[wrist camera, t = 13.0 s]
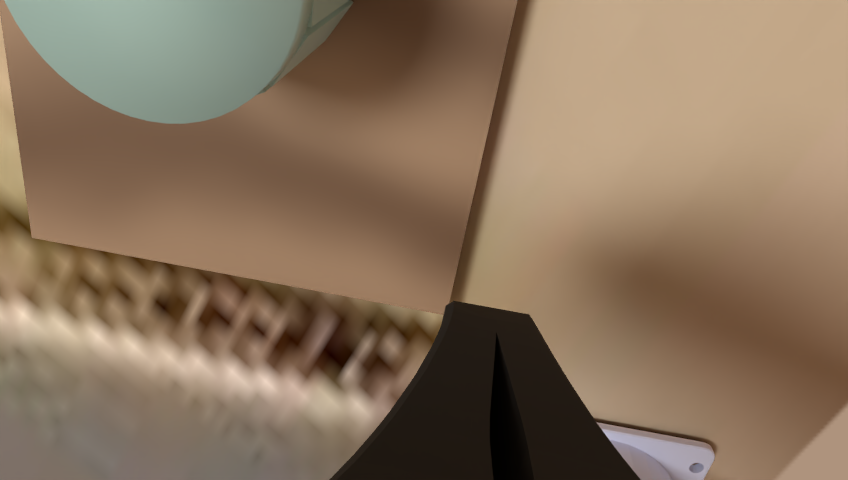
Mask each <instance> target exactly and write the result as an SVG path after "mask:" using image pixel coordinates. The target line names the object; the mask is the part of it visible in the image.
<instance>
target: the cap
mask: <svg viewBox="0 0 848 480" xmlns="http://www.w3.org/2000/svg"><path fill="white" fill-rule="evenodd" d="M4 1H5V3H6V5H7V7H8V9H9V11H10V12H11V14H12V16H13V18H14V20H15V22H16V23H17V25H18V26H19V28H20V29H21V31H22V32H23V34H24V35H25V37H26V38H27V40H28V41H29V42H30V44H31V45H32V46H33V47H34V49H35V50H36V51H37V52H38V53H39V54H40V56H41V57H42V58H43V59H44V60H45V61H46V62H47V63H48V64H49V65H50V66H51V67H52V68H53V69H54V70H55V71H56V72H57V73H58V74H59V75H60V76H61V77H62V78H64V79H65V80H66V81H67V82H69V83H70V84H71V85H72V86H74V87H75V88H76V89H77V90H79V91H80V92H82V93H84V94H85V95H87V96H88V97H90V98H91V99H93V100H94V101H96V102H98V103H100V104H102V105H104V106H106V107H108V108H110V109H112V110H114V111H117V112H120V113H122V114H125V115H128V116H130V117H134V118H138V119H142V120H146V121H151V122H159V123H166V124H186V123H193V122H201V121H205V120H209V119H212V118H216V117H219V116H222V115H224V114H226V113H228V112H231V111H233V110H235V109H237V108H238V107H240V106H241V105H243V104H244V103H246V102H248V101H249V100H251V99H252V98H253V97H254V96H256V95H258V94H261V93H264V92H266V91H267V90H268V89H269V88H270V87H272V86H273V85H275V84H276V83H277V82H278V81H279V80H280V79H282V78H283V77H284V76H285V75H286V74H287V73H289V72H290V71H291V70H292V69H293V68H294V67H296V66H297V65H298V64H299V63H300V62H301V61H303V60H304V59H305V58H306V57H307V56H308V55H309V54H311V53H312V52H313V51H314V50H315V49H316V48H318V47H319V46H320V45H321V44H322V43H323V42H325V41H326V39H327V38H328V37H329V35H330V34H331V32H332V31H333V30H334V28H335V27H336V26H337V24H338V23H339V22H340V20H341V19H342V17H343V16H344V15H345V13H346V12H347V11H348V9H349V8H350V7H351V5H352V4H353V1H351V0H4Z"/></svg>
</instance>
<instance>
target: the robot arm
mask: <svg viewBox="0 0 848 480" xmlns="http://www.w3.org/2000/svg"><path fill="white" fill-rule="evenodd" d="M714 459H715V455H714V452H713V449H712V447H711V446H710V445H709V444H707V443H705V442H700V441H695V440H689V439H684V438H679V437H673V436H668V435H663V434H657V433H652V432H646V431H641V430H636V429H630V428H625V427H620V426H614V425H609V424H604V423H598V422H596V421H595V419H594V418H593V417H592V415H591V414H590V412H589V411H588V409H587V408H586V406H585V405H584V403H583V402H582V400H581V399H580V397H579V396H578V394H577V393H576V391H575V390H574V388H573V387H572V385H571V383H570V382H569V380H568V379H567V377H566V375H565V374H564V372H563V371H562V369H561V367H560V366H559V364H558V362H557V361H556V359H555V357H554V356H553V354H552V352H551V351H550V349H549V347H548V345H547V344H546V342H545V340H544V339H543V337H542V335H541V333H540V332H539V330H538V328H537V326H536V325H535V323H534V321H533V320H532V318H531V317H530V315H529V314H523V313H518V312H512V311H507V310H501V309H496V308H490V307H485V306H479V305H474V304H468V303H463V302H457V301H453V302H451V303H449V304H448V305H446V306H445V311H444V316H443V320H442V325H441V328H440V330H439V332H438V335H437V337H436V339H435V341H434V343H433V345H432V347H431V349H430V351H429V352H428V354H427V356H426V358H425V359H424V361H423V363H422V364H421V366H420V368H419V370H418V371H417V373H416V375H415V376H414V378H413V379H412V381H411V382H410V384H409V385H408V387H407V388H406V389H405V391H404V392H403V394H402V395H401V397H400V398H399V399H398V401H397V402H396V404H395V405H394V406H393V408H392V409H391V411H390V412H389V413H388V415H387V416H386V417H385V418H384V420H383V421H382V422H381V423H380V425H379V426H378V427H377V428H376V430H375V431H374V432H373V433H372V434H371V436H370V437H369V438H368V439H367V440H366V441H365V442H364V444H363V445H362V446H361V447H360V448H359V449H358V450H357V452H356V453H355V454H354V455H353V456H352V457H351V458H350V459H349V460H348V461H347V462H346V463H345V464H344V465H343V466H342V467H341V468H340V470H339V471H338V472H337V473H336V474H335V475H334V476H333V477H332V478H331V479H330V480H704V478H705V476H706V474H707V472H708V471H709V469H710V467H711V465H712V463H713V461H714ZM694 463H698V464H696V465H692V464H694Z"/></svg>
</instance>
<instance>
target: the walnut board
mask: <svg viewBox="0 0 848 480" xmlns="http://www.w3.org/2000/svg"><path fill="white" fill-rule="evenodd" d="M351 1H353V4H352V5H351V7H350V8H349V9H348V11H347V12H346V13H345V15H344V16H343V17H342V19H341V20H340V22H339V23H338V24H337V26H336V27H335V28H334V30H333V31H332V32H331V34H330V35H329V37H328V38H327V39H326V41H325V42H323V43H322V44H321V45H320V46H319V47H318V48H316V49H315V50H314V51H313V52H312V53H311V54H309V55H308V56H307V57H306V58H305V59H304V60H303V61H301V62H300V63H299V64H298V65H297V66H296V67H294V68H293V69H292V70H291V71H290V72H289V73H287V74H286V75H285V76H284V77H283V78H282V79H280V80H279V81H278V82H277V83H276V84H275V85H273V86H272V87H270V88H269V89H268V90H267V91H266V92H264V93H261V94H258V95H256V96H254V97H253V98H252V99H251V100H249V101H248V102H246V103H244V104H243V105H241V106H240V107H238V108H237V109H235V110H233V111H231V112H228V113H226V114H224V115H222V116H219V117H216V118H212V119H209V120H205V121H201V122H193V123H186V124H166V123H159V122H151V121H146V120H142V119H138V118H134V117H130V116H128V115H125V114H122V113H120V112H117V111H114V110H112V109H110V108H108V107H106V106H104V105H102V104H100V103H98V102H96V101H94V100H93V99H91V98H90V97H88V96H87V95H85V94H84V93H82V92H80V91H79V90H77V89H76V88H75V87H74V86H72V85H71V84H70V83H69V82H67V81H66V80H65V79H64V78H62V77H61V76H60V75H59V74H58V73H57V72H56V71H55V70H54V69H53V68H52V67H51V66H50V65H49V64H48V63H47V62H46V61H45V60H44V59H43V58H42V57H41V56H40V54H39V53H38V52H37V51H36V50H35V49H34V47H33V46H32V45H31V44H30V42H29V41H28V40H27V38H26V37H25V35H24V34H23V32H22V31H21V29H20V28H19V26H18V25H17V23H16V22H15V20H14V18H13V16H12V14H11V12H10V11H9V9H8V7H7V5H6V3H5V1H4V0H0V16H1V23H2V30H3V37H4V44H5V51H6V58H7V65H8V72H9V79H10V86H11V93H12V100H13V107H14V115H15V122H16V129H17V136H18V143H19V150H20V157H21V164H22V171H23V178H24V185H25V192H26V199H27V206H28V214H29V221H30V228H31V235H32V238H37V239H42V240H47V241H53V242H58V243H63V244H69V245H74V246H79V247H85V248H90V249H95V250H101V251H106V252H111V253H117V254H122V255H127V256H133V257H138V258H144V259H149V260H154V261H160V262H165V263H170V264H176V265H181V266H186V267H192V268H197V269H202V270H208V271H213V272H218V273H224V274H229V275H234V276H240V277H245V278H250V279H256V280H261V281H266V282H272V283H277V284H282V285H288V286H293V287H298V288H304V289H309V290H314V291H320V292H325V293H330V294H336V295H341V296H346V297H352V298H357V299H363V300H368V301H373V302H379V303H384V304H389V305H395V306H400V307H405V308H411V309H416V310H421V311H427V312H432V313H437V314H443V315H444V311H445V306H446V305H448V304H449V302H450V298H451V293H452V289H453V285H454V280H455V276H456V271H457V267H458V262H459V258H460V254H461V249H462V245H463V240H464V236H465V231H466V227H467V223H468V218H469V214H470V209H471V205H472V200H473V196H474V192H475V187H476V183H477V178H478V174H479V169H480V165H481V160H482V156H483V152H484V147H485V143H486V138H487V134H488V129H489V125H490V121H491V116H492V112H493V107H494V103H495V98H496V94H497V90H498V85H499V81H500V76H501V72H502V67H503V63H504V59H505V54H506V50H507V45H508V41H509V36H510V32H511V28H512V23H513V19H514V14H515V10H516V5H517V1H518V0H351Z"/></svg>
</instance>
